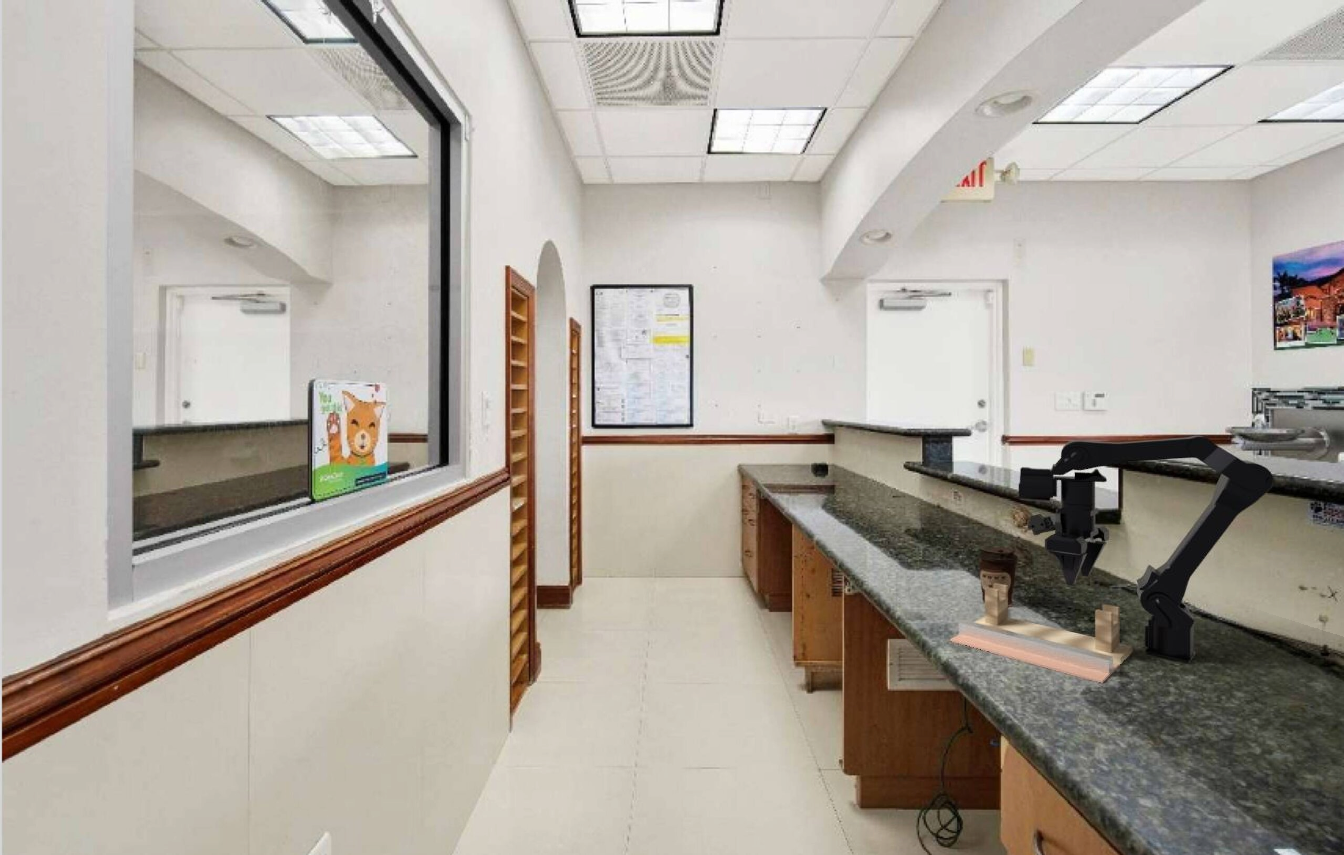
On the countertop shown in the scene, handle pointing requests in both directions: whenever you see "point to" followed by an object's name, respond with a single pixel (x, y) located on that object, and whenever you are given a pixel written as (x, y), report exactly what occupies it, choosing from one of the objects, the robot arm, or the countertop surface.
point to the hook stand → (1101, 643)
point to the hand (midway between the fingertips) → (1077, 580)
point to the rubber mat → (1035, 659)
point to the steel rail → (1038, 646)
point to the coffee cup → (997, 569)
